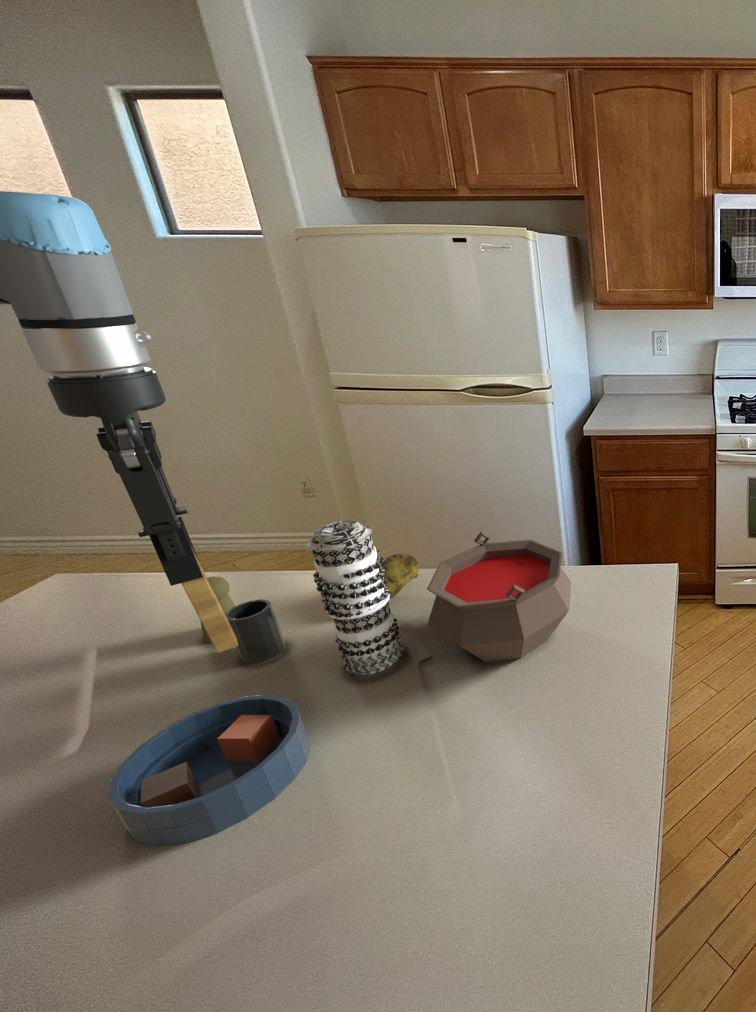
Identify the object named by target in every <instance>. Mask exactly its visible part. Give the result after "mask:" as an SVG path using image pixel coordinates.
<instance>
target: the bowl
mask: <svg viewBox="0 0 756 1012" xmlns="http://www.w3.org/2000/svg"><path fill="white" fill-rule="evenodd" d="M241 715H272V718H273V720H274V723H275V725H276V728H277V730H278V733H279V735H280V738H279V739H278V740H277V741H276V742H275V743H274V744H273V746H272V747H271V748H270V749H269V750H268V751H267V752H266V753H265V754H264V756H263V757H262V758H261V759H260V760H259V761H227V759H226V757H225V755H224V753H223V751H222V748H221V746H220V744H219V742H218V740H217V738H218V737H219V736H220V735H221V734H222V733H223V732H225V731H226V730H227V729H228V728H229V727H230V726H231V725H232V724H233V723H234V722H235V721H236V720H237V719H238V718H239V717H240V716H241ZM310 749H311V742H310V739H309V736H308V733H307V729H306V728H305V725H304V723H303V720H302V717H301V714H300V711H299V709H298V706H297V704H296V703H294V702H292V701H291V700H290V699H288V698H286V697H284V696H278V695H272V694H261V695H259V694H258V695H248V696H247V695H246V696H240V697H237V698H233V699H229V700H224V701H221V702H217V703H216V704H212V705H210V706H208V707H205V708H202V709H200V710H197V711H194V712H192V713H190V714H188V715H186V716H184V717H182V718H180V719H179V720H177V721H175V722H173V723H171V724H169V725H167V726H166V727H164V728H163V729H161V730H159V731H158V732H157V733H156V734H154V735H153V736H151V737H150V738H149V739H147V740H145V741H144V742H142V743H141V744H140V745H139V746H138V747H136V749H134V751H133V752H132V753H131V754H129V755H128V757H126V758H125V760H124V761H122V762H121V764H120V765H119V766H118V768H117V770H116V771H115V773H114V774H113V776H112V777H111V779H110V780H109V783H108V784H109V785H108V801H109V803H110V805H111V807H112V808H113V809H114V811H115V813H116V815H117V816H118V818H119V819H120V821H121V823H122V824H123V826H124V828H125V830H126V831H127V832H128V833H129V834H130V835H131V837H132V838H133V839H134V840H135V841H136V842H138V843H141V844H146V845H151V846H155V847H163V846H172V845H173V846H174V845H181V844H186V843H191V842H192V841H193V842H194V841H197V840H199V839H202V838H206V837H209V836H212V835H215V834H217V833H220V832H222V831H224V830H226V829H228V828H230V827H232V826H234V825H235V824H236V825H237V823H240V822H241V821H244V820H246V819H248V818H249V817H251V816H253V815H254V814H255V813H256V812H258V811H260V810H261V809H262V808H264V807H265V806H267V805H269V803H271V802H272V801H274V800H275V799H276V798H277V797H278V796H279V795H280V794H281V793H282V792H284V791H285V789H286V788H287V787H288V786H289V785H291V784H292V783H293V782H294V780H296V778H297V777H298V775H299V773H300V772H301V771H302V769H303V767H304V766H305V764H306V763H307V761H308V757H309V753H310ZM185 762H187V763H188V765H189V767H190V769H191V771H192V773H193V776H194V778H195V780H196V782H197V784H198V791H199V797H198V798H195V799H191V800H188V801H185V802H181V803H178V804H175V805H170V806H160V807H150V808H145V807H142V806H141V804H140V800H141V781H142V780H144V779H147V778H149V777H151V776H154V775H156V774H159V773H161V772H163V771H166V770H168V769H170V768H173V767H175V766H178V765H180V764H182V763H185Z"/></svg>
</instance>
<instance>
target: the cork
mask: <svg viewBox="0 0 756 1012" xmlns="http://www.w3.org/2000/svg"><path fill="white" fill-rule="evenodd" d="M206 577H207V576H206ZM207 579H208V581H209V583H210V585H211V587H212V589H213V591H214V593H215V595H216V597H217V599H218V601H219V603H220V605H221V607H222V610H223V612H224V614H225V613H226V612H227V611H229V610H230V609H231V608H233V607H235V606H236V604H235V603H234V600H233V599H232V598H231V596H230V595H229V593H230V590H231V589H230V584H229V582H228V580H227V579H226V578H224V577H223V576H208V577H207ZM199 622H200V627H201V630H202V635H203V640H204V641H205V642H206V643H211V644H213V643H212V641H211V640H210V638H209V636H208V634H207V632H206V630H205V628H204V626H203V624H202V622H201V620H200V619H199Z"/></svg>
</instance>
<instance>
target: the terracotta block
mask: <svg viewBox="0 0 756 1012" xmlns="http://www.w3.org/2000/svg"><path fill="white" fill-rule="evenodd" d="M279 738H280V735H279V733H278V730H277V728H276V725H275V723H274V720H273V718H272V715H241V716H240V717H239V718H238V719H237V720H236V721H235V722H234V723H233V724H232V725H231V726H230V727H229V728H228V729H227V730H226V731H225V732H223V733H222V734H221V735H220V736H219V737H218V738H217V740H218V742H219V744H220V746H221V748H222V751H223V753H224V755H225V757H226V759H227V761H259V760H260V759H261V758H262V757H263V756H264V754H265V753H266V752H267V751H268V750H269V749H270V748H271V747H272V746H273V744H274V743H275V742H276V741H277V740H278V739H279Z"/></svg>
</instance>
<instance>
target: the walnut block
mask: <svg viewBox="0 0 756 1012" xmlns="http://www.w3.org/2000/svg"><path fill="white" fill-rule="evenodd" d="M198 797H199V791H198V784H197V782H196V780H195V778H194V776H193V773H192V771H191V769H190V767H189V765H188V763H187V762H185V763H182V764H180V765H178V766H175V767H173V768H170V769H168V770H166V771H163V772H161V773H159V774H156V775H154V776H151V777H149V778H147V779H144V780H142V781H141V800H140V804H141V806H142V807H145V808H150V807H160V806H170V805H175V804H178V803H181V802H185V801H188V800H191V799H195V798H198Z"/></svg>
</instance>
